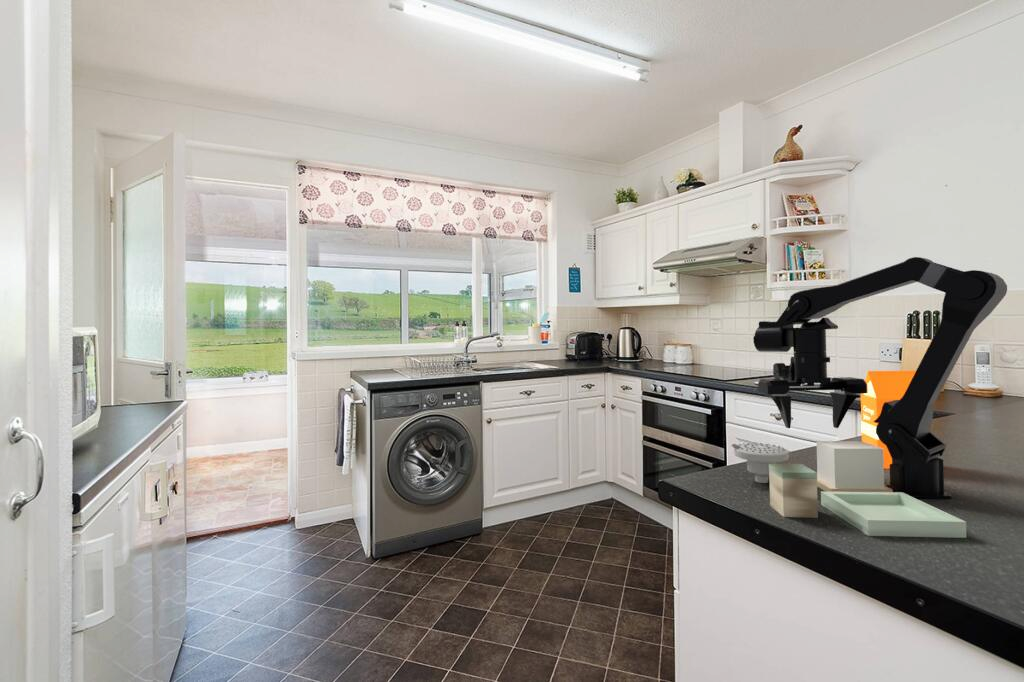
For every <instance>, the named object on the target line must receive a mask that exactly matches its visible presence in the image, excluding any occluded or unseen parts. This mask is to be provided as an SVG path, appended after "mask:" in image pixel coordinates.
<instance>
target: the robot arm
mask: <svg viewBox="0 0 1024 682" xmlns="http://www.w3.org/2000/svg"><path fill="white" fill-rule="evenodd" d="M914 283H919V284H922V285H924V286H927V287H929V288H932V289H935V290H936V291H940V292H943V293H944V298H943V301H942V307H941V308H942V309H941V320H940V324H939V326H938V328H937V329H936V331H935V333H934V335H933V337H932V339H931V341H930V343H929V345H928V347H927V349H926V351H925V353H924V355H923V357H922V358H921V361H920V362H919V364H918V367H917V369H916V370H915V374H914V376H913V378H912V380H911V382H910V384H909V386H908V388H907V390H906V392H905V394H904V395H903V397H902V398H901V399H900V400H898V399H897V400H893V401H889V402H885V403H884V404H883V406H882V410H881V414H880V416H879V417H878V418H877V419H876V420H875V421H874V423H878V424H877V427H876V434H877V436H878V438H879V440H880V441H881V442H882V443H883V444H885V445H886V446H887V449H888V451H889V453H890V455H891V458H892V464H890V469H889V483H886V487H888V488H890V489H893V491H895V492H903V493H905V494H907V495H909V496H911V497H914V498H916V499H917V498H919V499H925V498H926V499H927V498H928V499H953V497H952V496H953V495H952V494H950V493H948V492H945V477H944V475H945V474H944V473H945V472H944V469H945V468H944V459H942V458H939V457H941V456H943V454H944V453H945V450H946V448H947V445H946V444H945V443H944V442H943V441H942V440H941V439H940V438H939V437H937V436H936V435H935V434H934V433H932V432H931V431H930V430H931V427H932V424H933V420H934V409H935V408H934V406H935V402H936V401H937V399H938V397H939V395H940V393H941V392H942V390H943V388H944V386H945V384H946V382H947V381H948V379H949V377H950V375H951V373H952V372H953V369H954V367H955V366H956V364H957V362H958V361H959V358H960V356H961V355H962V353H963V351H964V349H965V347H966V345H967V343H968V342H969V340H970V338H971V336H972V334H973V332H974V330H976V328H977V327H978V326H979V325H980V324H981V323H982V322H983V321H984V320H985V319H987V318H988V316H989V315H991V314H992V312H993V311H994V310H995V309H996V308H997V306H998V305H999V304H1000V303H1001V302H1002V300H1003V299H1004V298H1005V296H1006V295H1007V292H1008V285H1007V283H1006V281H1005V280H1004V278H1002V277H1001V276H1000V275H998V274H996V273H993V272H988V271H983V270H976V269H975V270H973V269H972V270H966V271H963V270H961V269H957V268H953V267H950V266H948V265H947V266H946V265H944V264H942V263H941V264H940V263H938V262H937V263H936V262H934V261H933V260H931V259H929V258H924V257H919V256H918V257H917V256H913V257H909V258H908V259H906V260H904V261H902V262H900V263H897V264H896V263H895V264H894V265H890V266H888V267H884V268H882V269H879V270H876V271H873V272H870V273H867V274H865V275H862V276H859V277H855V278H853V279H850V280H847V281H844V282H840V283H839V284H835V285H830V286H823V287H816V288H810V289H809V288H808V289H804V290H799V291H795V292H793V294H791V295H790V296H789V299H788V302H787V306H786V308H785V309H784V310H783V312H782V313H781V315H780V316H779V318H778V319H777V320H776V321H769V320H767V321H766V320H764V321H763V320H762V321H759V322H758V327H757V328H756V330H755V332H754V335H753V344H754V347H755V350H757V351H758V352H760V353H763V352H764V353H769V352H772V353H773V352H774V353H777V352H778V353H788V352H789V351H790V350H791V348H793V356H790V362H789V364H788V365H787V364H785V363H784V362H776V363H774V364H773V369H772V373H773V378H760V379H759V381H758V383H757V392H759V393H762V394H764V396H765V397H768V398H771V400H772V401H773V402H774V404H775V405H776V407H777V409H778V412H779V414H780V416H781V419H782V421H783V423H784V426H785V428H786V429H791V426H792V396H791V395H788V393H789V392H791V391H796V392H797V391H829V394H830V396H831V400H832V425H833V428H835V429H839V428H840V426H841V424H842V422H843V420H844V419H845V416H846V415H847V412H848V411H849V409H850V408H851V407H852V405H853V403H854V402H855V401H856V399H857V398H858V399H861V393H868V385H867V383H866V382H865V379H863V378H858V377H849V376H848V377H832V379H831V377H828V365H827V364H828V363H831V357H830V356H827V330H837V329H839V326H838V325H837V324H836V323H834V322H833V321H831V319H830V318H829V317H826V316H827V315H830V314H832V313H833V312H837V310H839V309H840V308H842V307H844V306H846V305H848V304H850V303H853V302H856V301H859V300H863V299H865V298H869V297H873V296H876V295H878V294H881V293H885V292H889V291H891V290H895V289H897V288H901V287H904V286H907V285H912V284H914ZM819 319H820V320H819ZM811 320H818V321H811ZM794 325H801V326H800V327H794Z"/></svg>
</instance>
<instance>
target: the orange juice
mask: <svg viewBox="0 0 1024 682" xmlns="http://www.w3.org/2000/svg"><path fill="white" fill-rule="evenodd" d="M915 372H916V370H868V371H867V374H866V378H865V379H864V381H865V382H866V383H867V385H868V393H860V395H861V397H860V408H861V409H860V410H861V411H860V413H861V414H860V415H861V421H860V427H861V428H860V429H861V441H863V442H866V443H869V444H872V445H875V446H877V447H880V448H883V456H884V470H885V469H887V470H890V464H892V458H891V455H890V453H889V451H888V449H887V446H886V445H885V444H883V443H882V442H881V441H880V440H879V438H878V436H877V434H876V427H877V424H878V423H874V421H875V420H876V419H877V418H878V417H879V416H880V414H881V410H882V406H883V404H884V403H885V402H889V401H893V400H897V399H898V400H900V399H901V398H902V397H903V395H904V394H905V392H906V390H907V388H908V386H909V384H910V382H911V380H912V378H913V376H914V374H915Z"/></svg>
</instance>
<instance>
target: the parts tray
mask: <svg viewBox="0 0 1024 682" xmlns="http://www.w3.org/2000/svg"><path fill="white" fill-rule="evenodd" d="M820 504H821V506H822V507H824V508H825V509H827V510H829V511H830V512H831V513H833V514H834V515H836V516H838V517H839V518H840V519H842V520H844V521H845V522H847V523H848V524H849V525H851V526H853V527H854V528H856V529H857V530H859V532H862V533H863V534H864V535H866V536H868V537H869V536H870V537H904V538H905V537H911V538H912V537H913V538H914V537H915V538H955V539H958V538H959V539H962V538H963V539H964V538H965V539H967V521H965V520H963V519H961V518H959V517H957V516H954V515H953V514H951V513H949V512H946V511H943V510H941V509H939V508H937V507H935V506H933V505H931V504H929V503H926V502H924V501H922V500H920V499H917V498H914V497H911V496H909V495H907V494H905V493H903V492H898V491H895V492H894V491H893V492H826V491H824V490H823V491H820Z"/></svg>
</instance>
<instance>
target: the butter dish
mask: <svg viewBox="0 0 1024 682" xmlns="http://www.w3.org/2000/svg"><path fill="white" fill-rule="evenodd" d="M816 467H817V468H816V472H817V488H819V489H821V490H823V492H894V489H891V488H889V487H887V485H885V468H884V456H883V448H880V447H877V446H875V445H872V444H869V443H866V442H863V441H862V440H838V441H837V440H835V441H834V440H833V441H832V440H828V441H827V440H818V441H817V440H816Z"/></svg>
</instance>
